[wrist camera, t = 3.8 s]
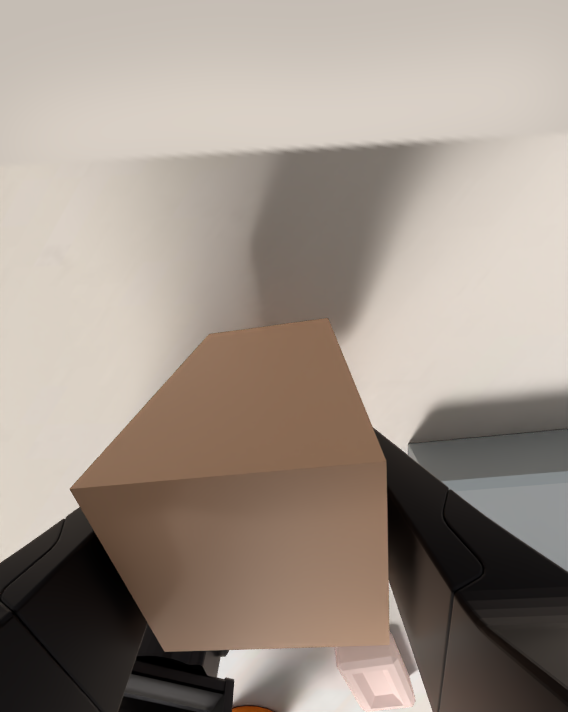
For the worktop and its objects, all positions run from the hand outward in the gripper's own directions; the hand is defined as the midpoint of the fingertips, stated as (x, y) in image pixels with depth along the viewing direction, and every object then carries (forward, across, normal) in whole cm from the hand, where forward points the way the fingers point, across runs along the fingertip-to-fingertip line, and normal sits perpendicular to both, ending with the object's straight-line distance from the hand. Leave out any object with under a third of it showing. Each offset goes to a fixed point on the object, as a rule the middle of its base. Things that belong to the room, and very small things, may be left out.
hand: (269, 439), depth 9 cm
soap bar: (+8, -4, +33) cm, 34 cm away
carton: (+4, 0, 0) cm, 4 cm away
